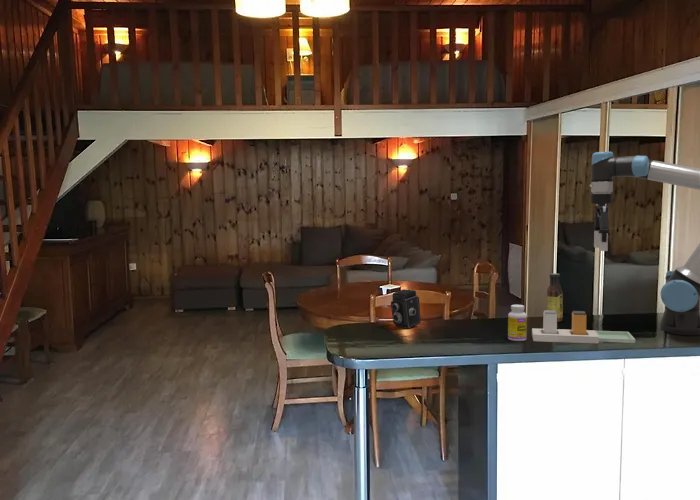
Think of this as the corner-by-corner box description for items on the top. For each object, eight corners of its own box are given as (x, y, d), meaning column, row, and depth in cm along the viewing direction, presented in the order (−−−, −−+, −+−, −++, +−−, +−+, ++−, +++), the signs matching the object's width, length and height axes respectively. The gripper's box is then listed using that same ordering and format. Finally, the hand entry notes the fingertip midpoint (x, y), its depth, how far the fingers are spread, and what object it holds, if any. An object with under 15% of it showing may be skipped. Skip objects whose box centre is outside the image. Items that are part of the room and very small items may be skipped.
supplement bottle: (516, 343, 219) (516, 308, 218) (504, 339, 225) (504, 305, 223) (530, 340, 222) (531, 306, 221) (517, 337, 228) (518, 303, 226)
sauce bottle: (563, 322, 250) (564, 275, 248) (547, 322, 252) (548, 274, 250) (561, 319, 257) (561, 272, 255) (545, 319, 258) (546, 272, 256)
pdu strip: (594, 338, 223) (594, 330, 223) (598, 345, 214) (598, 336, 213) (531, 336, 229) (532, 328, 228) (533, 342, 219) (533, 334, 219)
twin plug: (555, 337, 224) (555, 310, 223) (556, 340, 220) (557, 312, 219) (543, 336, 225) (543, 310, 224) (543, 339, 221) (544, 312, 220)
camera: (385, 327, 249) (384, 291, 247) (404, 323, 256) (404, 287, 255) (404, 331, 241) (403, 294, 239) (423, 327, 248) (423, 290, 246)
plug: (584, 338, 222) (584, 311, 221) (586, 341, 217) (586, 313, 216) (571, 337, 223) (571, 310, 222) (572, 340, 218) (573, 313, 217)
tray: (628, 336, 225) (628, 331, 225) (635, 344, 214) (635, 339, 213) (593, 335, 228) (593, 330, 228) (598, 343, 217) (598, 338, 216)
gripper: (586, 193, 243) (585, 246, 245) (596, 193, 219) (595, 252, 221) (606, 192, 241) (605, 246, 243) (618, 193, 217) (617, 252, 219)
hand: (600, 249), depth 232 cm, fingers open, 13 cm apart
